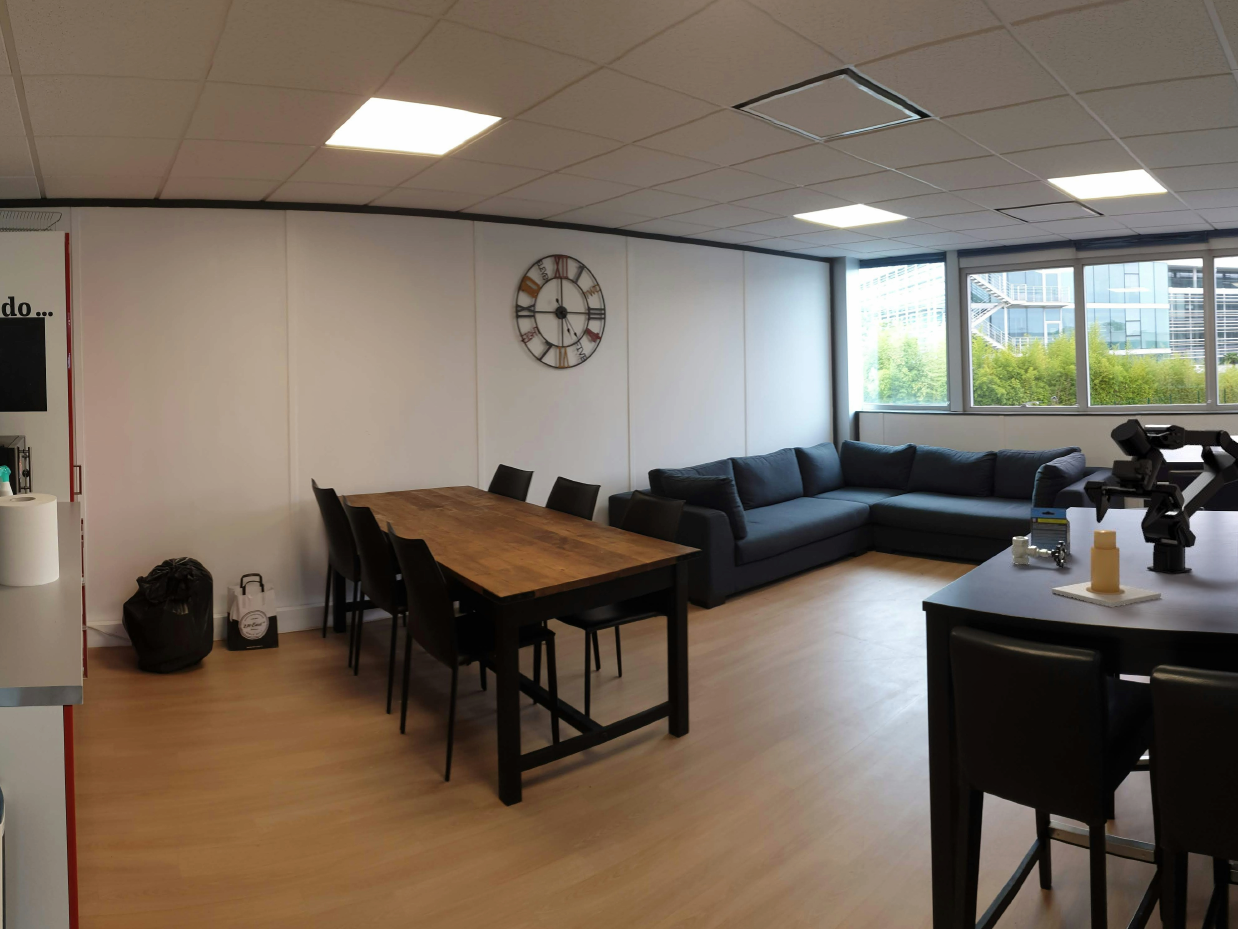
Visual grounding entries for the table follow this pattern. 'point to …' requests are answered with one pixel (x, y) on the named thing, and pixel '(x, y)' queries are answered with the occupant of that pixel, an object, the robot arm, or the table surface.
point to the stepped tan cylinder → (1105, 562)
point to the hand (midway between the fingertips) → (1120, 523)
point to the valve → (1036, 552)
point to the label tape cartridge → (1049, 528)
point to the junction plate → (1106, 594)
